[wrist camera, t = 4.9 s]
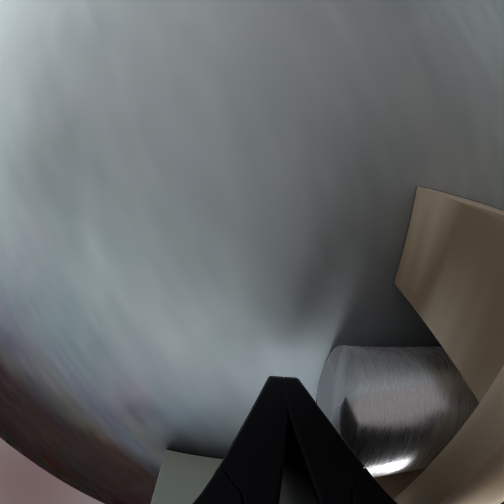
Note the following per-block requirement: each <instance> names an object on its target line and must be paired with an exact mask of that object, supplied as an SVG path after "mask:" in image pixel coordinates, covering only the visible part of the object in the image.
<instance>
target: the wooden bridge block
mask: <svg viewBox="0 0 504 504" xmlns="http://www.w3.org/2000/svg"><path fill="white" fill-rule="evenodd" d="M394 283H395V285H396V286H397V287H398V288H399V290H400V291H401V292H402V293H403V295H404V296H405V297H406V299H407V300H408V301H409V302H410V304H411V305H412V306H413V308H414V309H415V310H416V312H417V313H418V314H419V315H420V317H421V318H422V319H423V321H424V322H425V323H426V325H427V326H428V328H429V329H430V330H431V332H432V333H433V334H434V336H435V337H436V339H437V340H438V341H439V343H440V344H441V346H442V347H443V348H444V350H445V351H446V353H447V354H448V356H449V357H450V358H451V360H452V361H453V363H454V364H455V366H456V367H457V369H458V370H459V372H460V373H461V375H462V376H463V378H464V379H465V381H466V382H467V384H468V385H469V387H470V389H471V390H472V392H473V393H474V395H475V397H476V398H477V400H478V401H479V405H478V406H477V408H476V409H475V410H474V412H473V413H472V414H471V416H470V417H469V418H468V420H467V421H466V422H465V424H464V425H463V426H462V428H461V429H460V430H459V431H458V433H457V434H456V435H455V436H454V438H453V439H452V440H451V441H450V442H449V444H448V445H447V446H446V447H445V448H444V449H443V451H442V452H441V453H440V454H439V455H438V456H437V457H436V458H435V459H434V461H433V462H432V463H431V464H430V465H429V466H428V467H427V468H423V469H418V470H413V471H408V472H403V473H398V474H392V475H385V476H379V477H374V479H375V480H376V481H377V482H378V483H379V485H380V486H381V487H382V488H383V489H384V490H385V491H386V492H387V493H388V494H389V495H390V496H391V497H392V498H393V499H394V500H395V501H396V502H397V503H398V504H501V503H502V502H503V501H504V210H501V209H498V208H494V207H491V206H488V205H485V204H482V203H478V202H475V201H472V200H468V199H465V198H461V197H458V196H454V195H451V194H447V193H443V192H439V191H435V190H432V189H428V188H424V187H419V186H417V191H416V196H415V201H414V206H413V211H412V215H411V220H410V224H409V228H408V233H407V237H406V241H405V245H404V249H403V252H402V256H401V260H400V264H399V267H398V271H397V274H396V277H395V281H394Z"/></svg>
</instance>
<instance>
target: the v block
mask: <svg viewBox="0 0 504 504" xmlns="http://www.w3.org/2000/svg"><path fill="white" fill-rule="evenodd" d="M222 460H223V459H217V458H210V457H203V456H197V455H191V454H186V453H180V452H175V451H170V450H166V451H165V454H164V458H163V461H162V465H161V468H160V472H159V476H158V479H157V483H156V486H155V490H154V494H153V497H152V501H151V504H192V503H193V502H194V501H195V500H196V499H197V497H198V496H199V495H200V494H201V492H202V491H203V490H204V488H205V487H206V485H207V484H208V482H209V481H210V479H211V478H212V476H213V475H214V473H215V471H216V470H217V468H218V467H219V465H220V463H221V462H222Z"/></svg>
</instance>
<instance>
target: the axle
mask: <svg viewBox="0 0 504 504" xmlns="http://www.w3.org/2000/svg"><path fill="white" fill-rule="evenodd" d="M316 403H317V405H318V406H319V407H320V409H321V410H322V411H323V413H324V414H325V415H326V417H327V418H328V419H329V421H330V422H331V423H332V425H333V426H334V427H335V429H336V430H337V431H338V433H339V434H340V435H341V437H342V438H343V439H344V441H345V442H346V443H347V444H348V446H349V447H350V448H351V450H352V451H353V452H354V453H355V455H356V456H357V457H358V459H359V460H360V461H361V462H362V464H363V465H364V468H366V469H367V470H368V471H369V472H370V474H371V475H372V476H373V477H379V476H385V475H392V474H398V473H403V472H408V471H413V470H418V469H423V468H427V467H428V466H429V465H430V464H431V463H432V462H433V461H434V459H435V458H436V457H437V456H438V455H439V454H440V453H441V452H442V451H443V449H444V448H445V447H446V446H447V445H448V444H449V442H450V441H451V440H452V439H453V438H454V436H455V435H456V434H457V433H458V431H459V430H460V429H461V428H462V426H463V425H464V424H465V422H466V421H467V420H468V418H469V417H470V416H471V414H472V413H473V412H474V410H475V409H476V408H477V406H478V405H479V401H478V400H477V398H476V397H475V395H474V393H473V392H472V390H471V389H470V387H469V385H468V384H467V382H466V381H465V379H464V378H463V376H462V375H461V373H460V372H459V370H458V369H457V367H456V366H455V364H454V363H453V361H452V360H451V358H450V357H449V356H448V354H447V353H446V351H445V350H444V348H443V347H373V346H347V345H339V346H337V347H335V348H334V349H333V350H332V351H331V353H330V354H329V356H328V358H327V360H326V363H325V365H324V368H323V371H322V374H321V378H320V382H319V386H318V391H317V397H316ZM364 468H363V469H364Z"/></svg>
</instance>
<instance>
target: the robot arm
mask: <svg viewBox="0 0 504 504" xmlns="http://www.w3.org/2000/svg"><path fill="white" fill-rule="evenodd" d="M363 468H364V465H363V464H362V462H361V461H360V460H359V459H358V457H357V456H356V455H355V453H354V452H353V451H352V450H351V448H350V447H349V446H348V444H347V443H346V442H345V441H344V439H343V438H342V437H341V435H340V434H339V433H338V431H337V430H336V429H335V427H334V426H333V425H332V423H331V422H330V421H329V419H328V418H327V417H326V415H325V414H324V413H323V411H322V410H321V409H320V407H319V406H318V405H317V403H316V402H315V401H314V399H313V398H312V397H311V395H310V394H309V393H308V391H307V390H306V388H305V387H304V386H303V384H302V383H301V382H300V380H299V379H298V378H295V377H279V376H269V377H268V379H267V381H266V383H265V385H264V387H263V388H262V390H261V392H260V394H259V396H258V398H257V400H256V402H255V403H254V405H253V407H252V409H251V411H250V413H249V415H248V416H247V418H246V420H245V422H244V424H243V425H242V427H241V429H240V431H239V432H238V434H237V436H236V438H235V439H234V441H233V443H232V445H231V446H230V448H229V450H228V452H227V453H226V455H225V457H224V458H223V460H222V462H221V463H220V465H219V467H218V468H217V470H216V471H215V473H214V475H213V476H212V478H211V479H210V481H209V482H208V484H207V485H206V487H205V488H204V490H203V491H202V492H201V494H200V495H199V496H198V497H197V499H196V500H195V501H194V502H193V503H192V504H398V503H397V502H396V501H395V500H394V499H393V498H392V497H391V496H390V495H389V494H388V493H387V492H386V491H385V490H384V489H383V488H382V487H381V486H380V485H379V483H378V482H377V481H376V480H375V479H374V477H373V476H372V475H371V474H370V472H369V471H368V470H367V469H366V468H364V469H363Z"/></svg>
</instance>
